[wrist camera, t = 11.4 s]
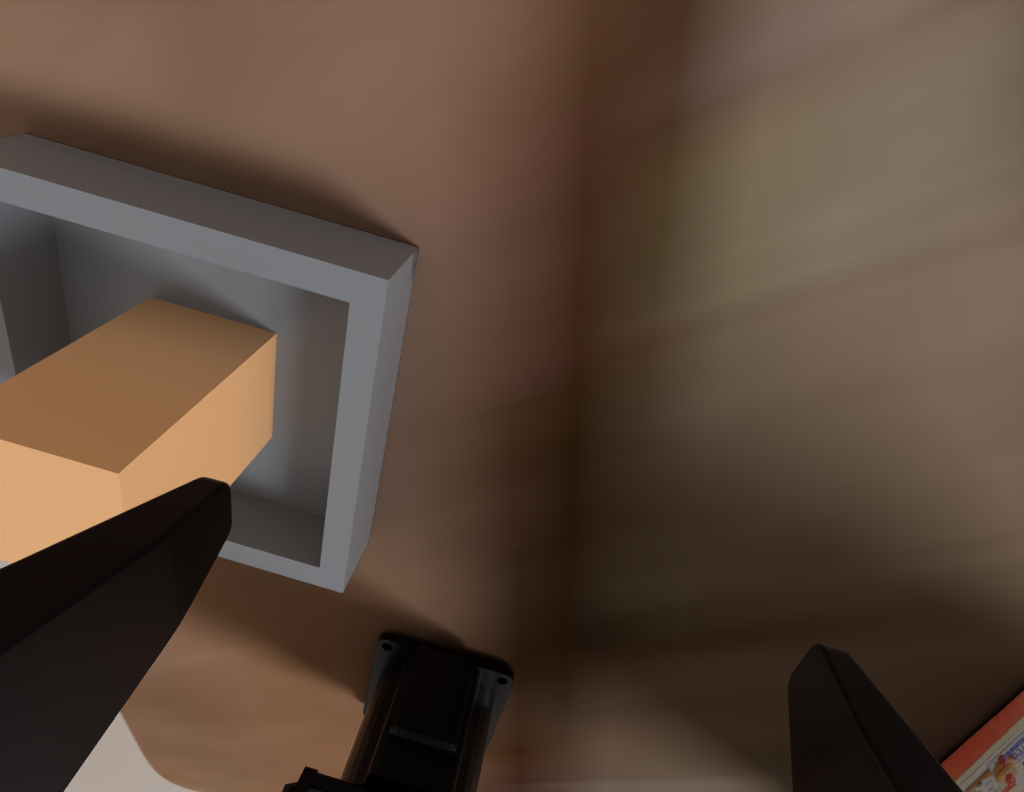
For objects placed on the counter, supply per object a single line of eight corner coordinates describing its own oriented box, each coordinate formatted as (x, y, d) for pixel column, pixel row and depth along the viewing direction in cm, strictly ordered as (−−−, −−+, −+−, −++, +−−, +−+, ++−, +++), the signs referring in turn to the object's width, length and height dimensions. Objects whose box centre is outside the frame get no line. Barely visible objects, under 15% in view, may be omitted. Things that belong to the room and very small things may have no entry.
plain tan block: (272, 436, 24) (133, 599, 17) (159, 404, 24) (-24, 553, 17) (277, 333, 22) (118, 474, 15) (151, 296, 22) (-64, 420, 15)
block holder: (369, 538, 27) (342, 593, 24) (74, 452, 27) (17, 497, 24) (418, 247, 20) (388, 280, 18) (24, 133, 20) (-63, 149, 18)
